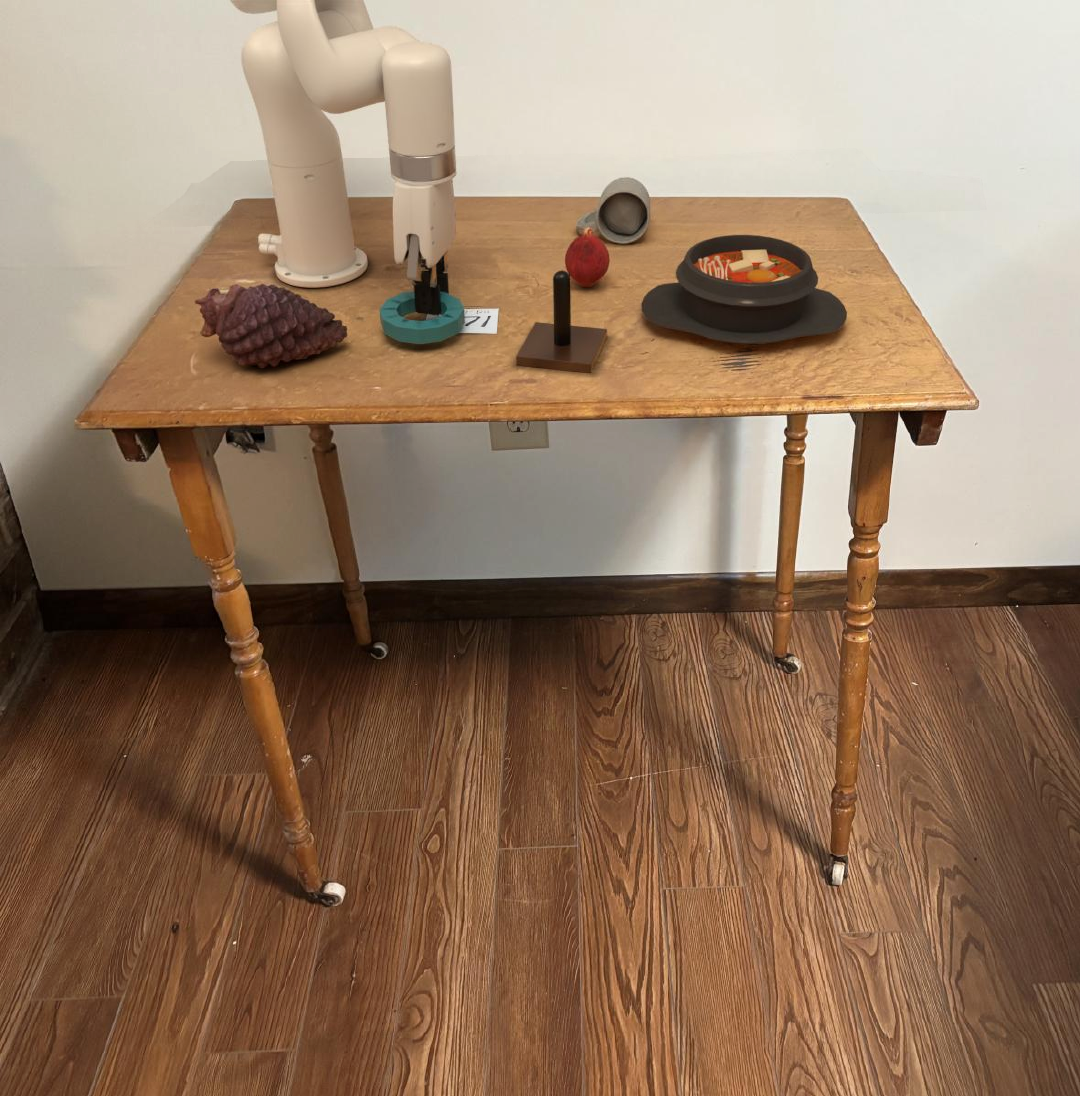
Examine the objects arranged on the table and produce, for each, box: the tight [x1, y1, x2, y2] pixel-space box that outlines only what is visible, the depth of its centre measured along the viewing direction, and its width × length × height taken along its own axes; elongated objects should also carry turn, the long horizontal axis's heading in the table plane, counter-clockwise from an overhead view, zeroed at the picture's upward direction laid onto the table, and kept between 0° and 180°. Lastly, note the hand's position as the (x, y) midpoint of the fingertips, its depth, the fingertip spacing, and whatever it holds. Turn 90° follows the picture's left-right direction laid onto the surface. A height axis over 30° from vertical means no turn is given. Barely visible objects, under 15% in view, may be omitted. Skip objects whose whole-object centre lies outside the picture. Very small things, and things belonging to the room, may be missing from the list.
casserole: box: [641, 234, 848, 345], centre depth 134 cm, size 25×19×8 cm
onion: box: [564, 227, 611, 288], centre depth 143 cm, size 6×6×8 cm
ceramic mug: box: [575, 176, 651, 245], centre depth 157 cm, size 11×8×8 cm
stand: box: [515, 270, 608, 374], centre depth 128 cm, size 9×9×10 cm
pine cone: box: [194, 283, 348, 369], centre depth 129 cm, size 18×10×10 cm
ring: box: [379, 290, 466, 345], centre depth 134 cm, size 10×10×2 cm
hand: (432, 306), depth 137 cm, fingers closed on ring, 2 cm apart
